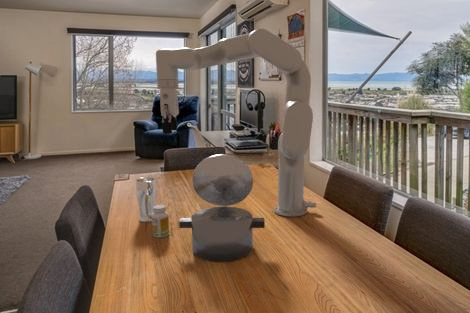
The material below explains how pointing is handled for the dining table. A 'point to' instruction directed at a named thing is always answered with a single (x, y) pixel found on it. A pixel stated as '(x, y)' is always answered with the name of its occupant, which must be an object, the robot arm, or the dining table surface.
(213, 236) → the cooking pot
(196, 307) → the dining table surface
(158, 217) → the supplement bottle
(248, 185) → the cooker lid
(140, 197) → the beer glass
